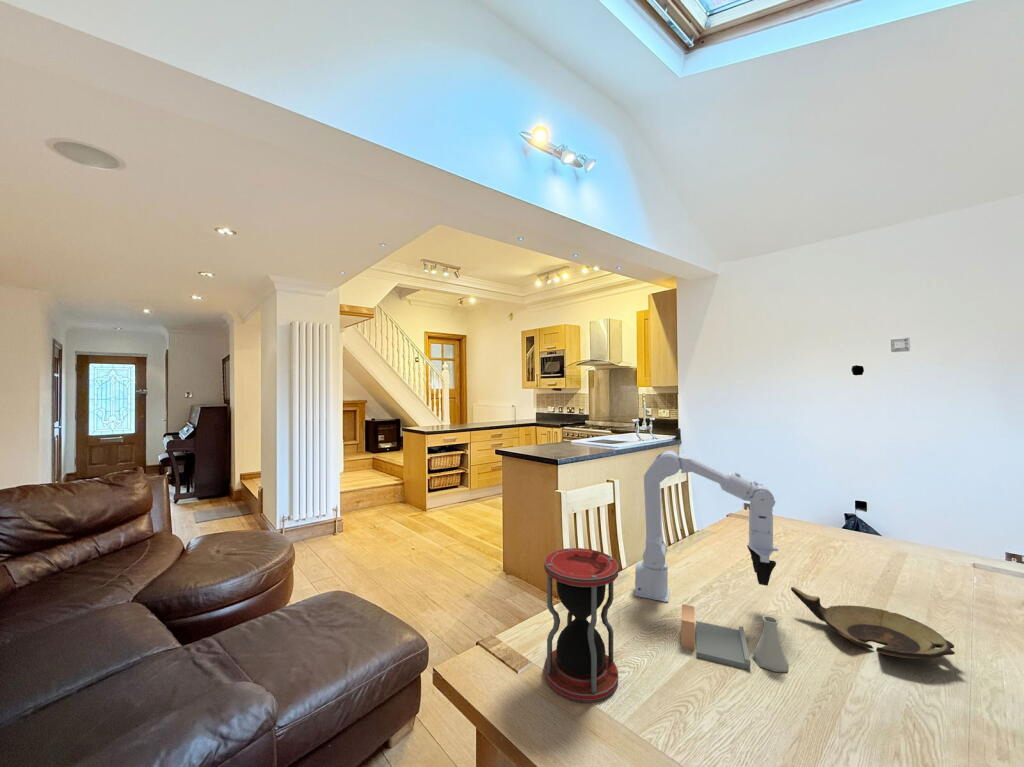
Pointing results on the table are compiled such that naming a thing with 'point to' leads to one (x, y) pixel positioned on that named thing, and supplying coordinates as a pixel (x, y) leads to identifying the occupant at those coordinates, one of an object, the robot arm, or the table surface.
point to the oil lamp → (880, 629)
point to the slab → (688, 626)
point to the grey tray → (722, 645)
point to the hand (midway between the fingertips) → (760, 578)
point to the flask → (770, 648)
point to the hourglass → (581, 625)
